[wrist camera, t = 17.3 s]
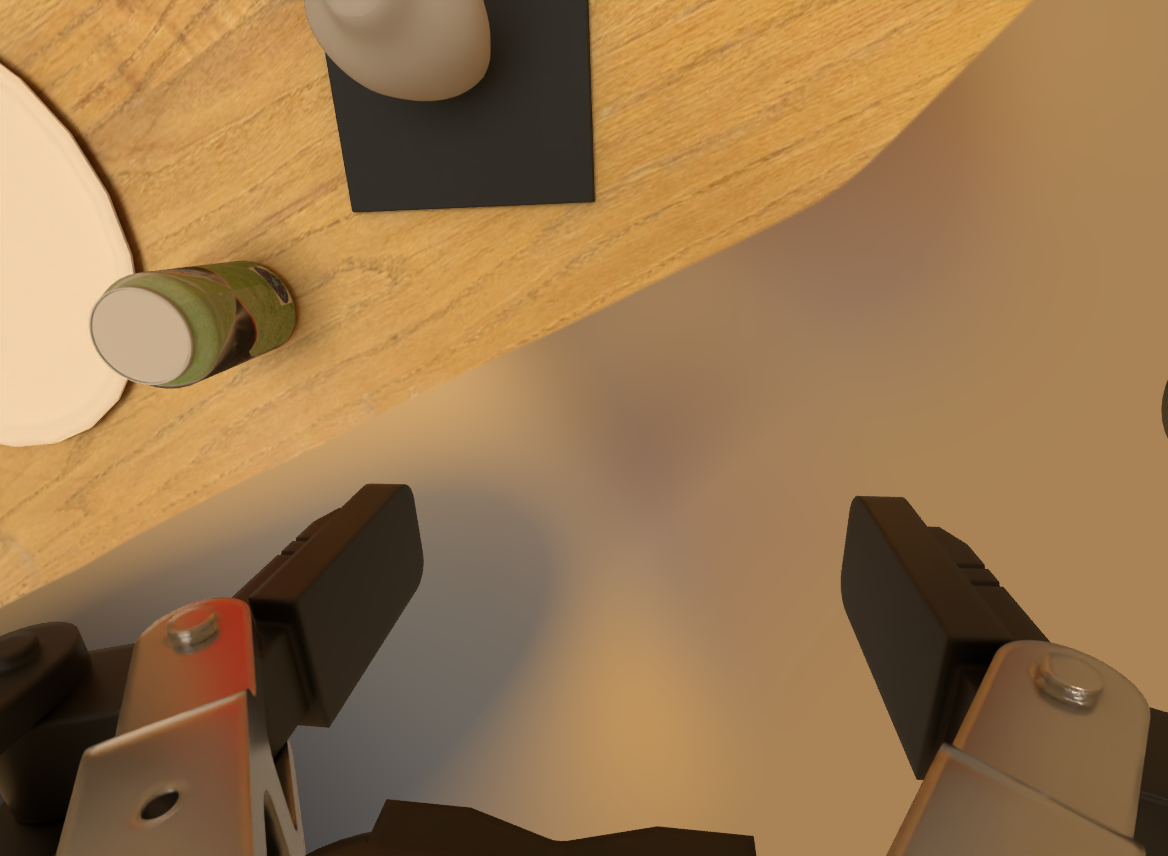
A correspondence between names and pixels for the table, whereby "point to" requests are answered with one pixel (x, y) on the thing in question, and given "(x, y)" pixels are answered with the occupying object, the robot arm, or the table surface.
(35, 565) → the table surface
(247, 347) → the beverage can
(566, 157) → the mat
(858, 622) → the robot arm
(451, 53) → the grey rounded body
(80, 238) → the plate
